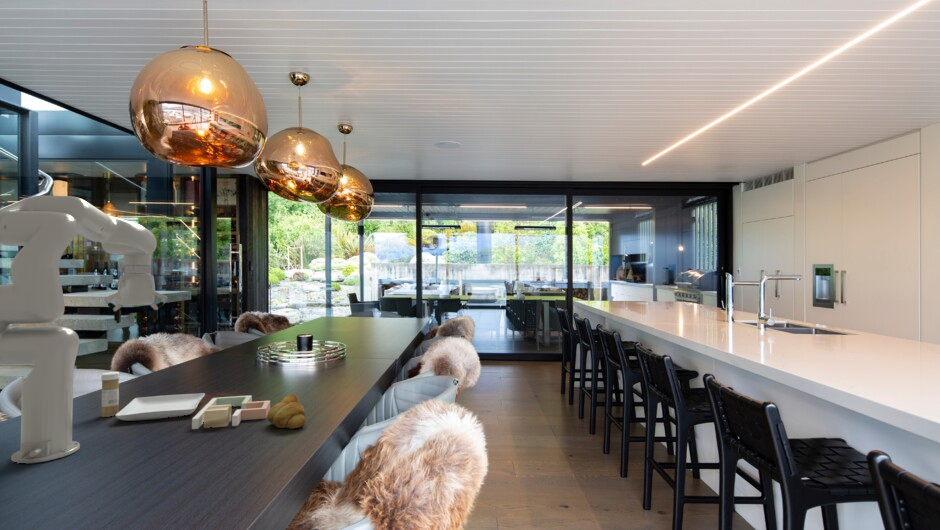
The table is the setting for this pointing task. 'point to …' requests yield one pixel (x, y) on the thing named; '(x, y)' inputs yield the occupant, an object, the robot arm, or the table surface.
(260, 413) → the pastel wall shelf
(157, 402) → the salad plate
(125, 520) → the table surface
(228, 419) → the block
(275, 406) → the bread roll
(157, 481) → the table surface
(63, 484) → the table surface
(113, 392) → the sprinkles bottle
